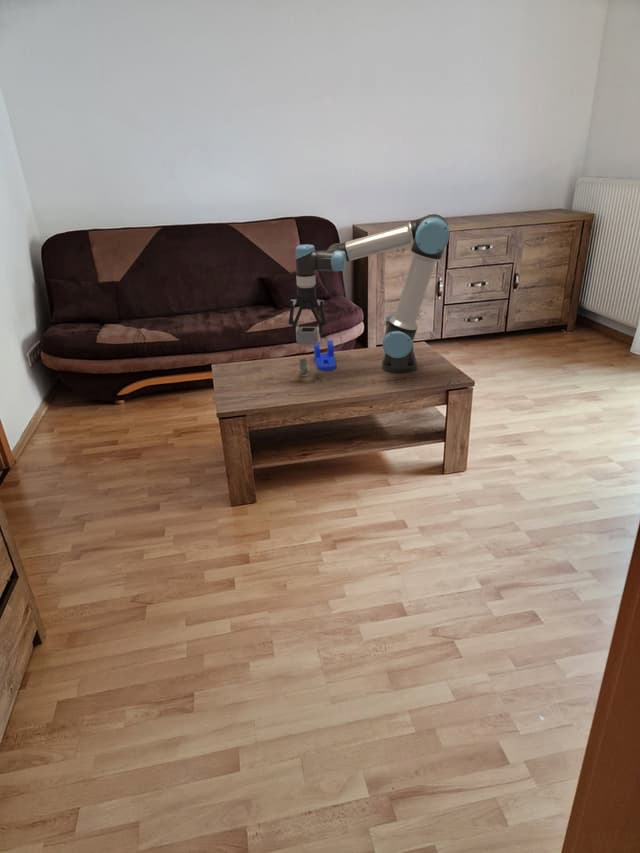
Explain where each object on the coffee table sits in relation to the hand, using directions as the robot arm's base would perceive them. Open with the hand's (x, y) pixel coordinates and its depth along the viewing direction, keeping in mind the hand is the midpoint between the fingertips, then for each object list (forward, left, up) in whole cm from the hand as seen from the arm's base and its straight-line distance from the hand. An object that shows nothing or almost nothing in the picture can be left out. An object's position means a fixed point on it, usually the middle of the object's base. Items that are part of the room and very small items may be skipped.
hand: (308, 340), depth 234 cm
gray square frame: (0, 0, 0) cm, 0 cm away
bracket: (-4, -16, -17) cm, 23 cm away
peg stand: (+3, +1, -16) cm, 16 cm away
